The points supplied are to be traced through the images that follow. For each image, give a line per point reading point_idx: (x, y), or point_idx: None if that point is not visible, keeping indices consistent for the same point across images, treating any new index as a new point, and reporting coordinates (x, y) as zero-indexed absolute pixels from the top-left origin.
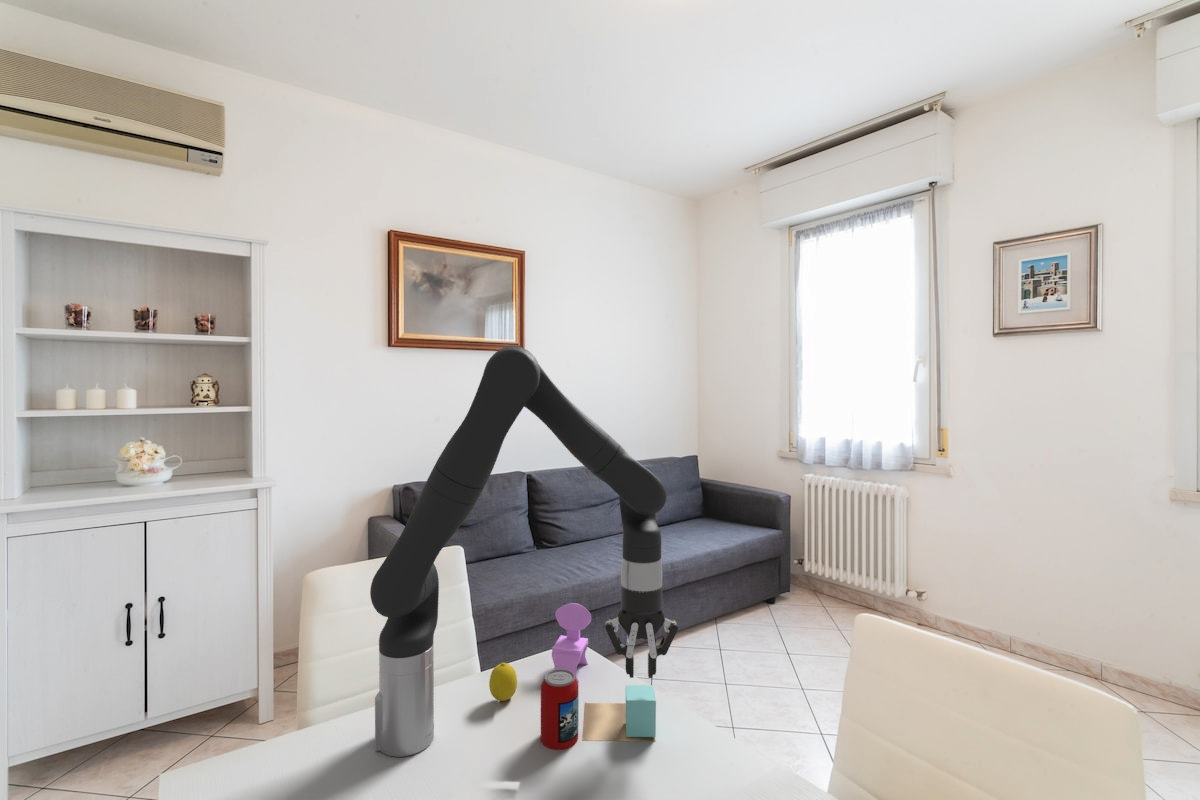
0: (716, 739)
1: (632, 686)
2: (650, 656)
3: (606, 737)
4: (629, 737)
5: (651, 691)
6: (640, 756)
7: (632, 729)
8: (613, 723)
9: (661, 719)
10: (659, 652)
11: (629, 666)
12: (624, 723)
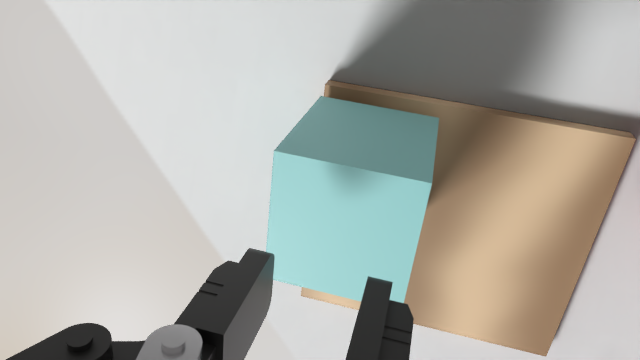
0: (113, 81)
1: None
2: (205, 352)
3: (520, 139)
4: None
5: (282, 232)
6: (402, 22)
7: (411, 122)
8: (465, 219)
9: None
10: (120, 358)
11: (383, 337)
12: None
